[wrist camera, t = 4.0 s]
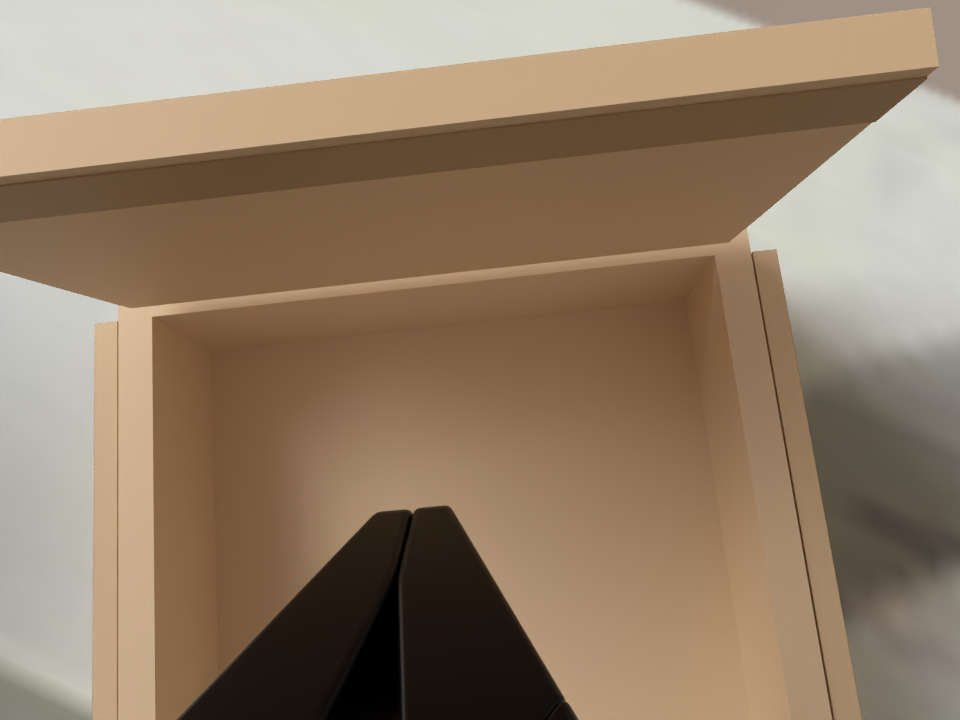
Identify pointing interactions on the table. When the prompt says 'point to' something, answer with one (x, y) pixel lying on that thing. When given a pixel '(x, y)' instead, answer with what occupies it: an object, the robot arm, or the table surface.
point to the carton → (480, 476)
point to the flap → (444, 163)
